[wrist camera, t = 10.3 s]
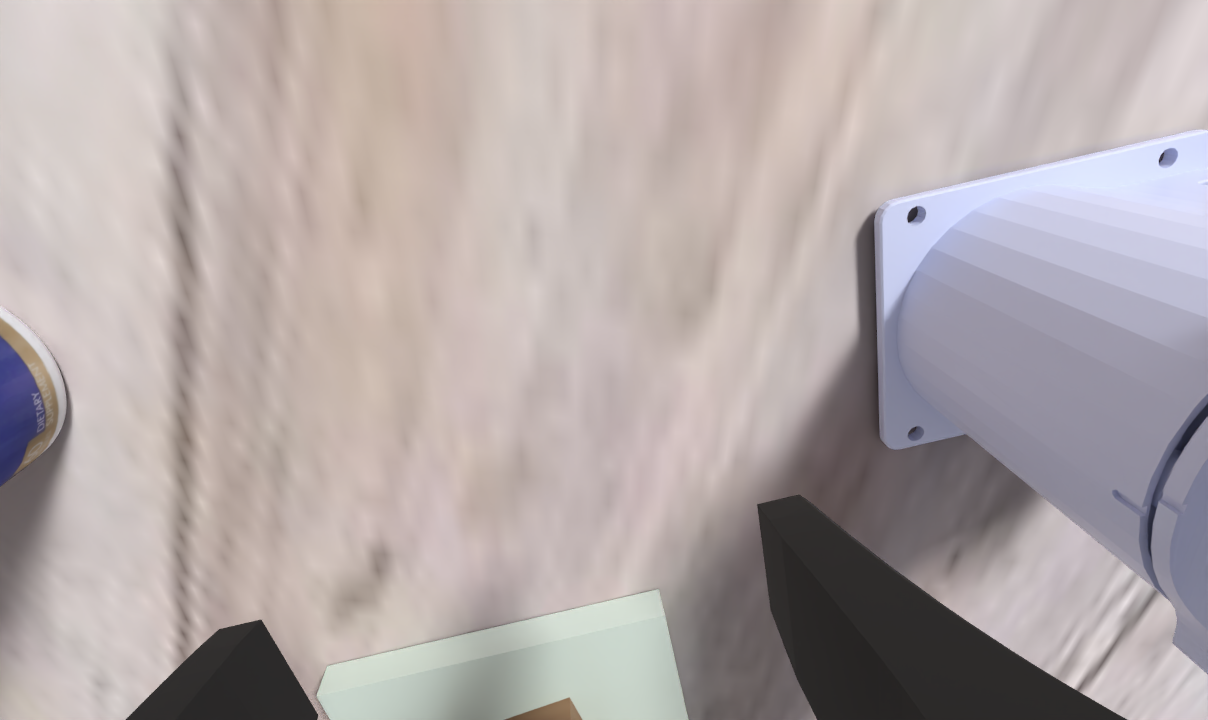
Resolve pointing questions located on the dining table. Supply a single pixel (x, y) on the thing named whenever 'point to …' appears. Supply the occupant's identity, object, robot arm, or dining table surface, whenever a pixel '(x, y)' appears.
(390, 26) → the dining table surface
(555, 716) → the walnut cube
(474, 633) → the sage tile
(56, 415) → the pill bottle
